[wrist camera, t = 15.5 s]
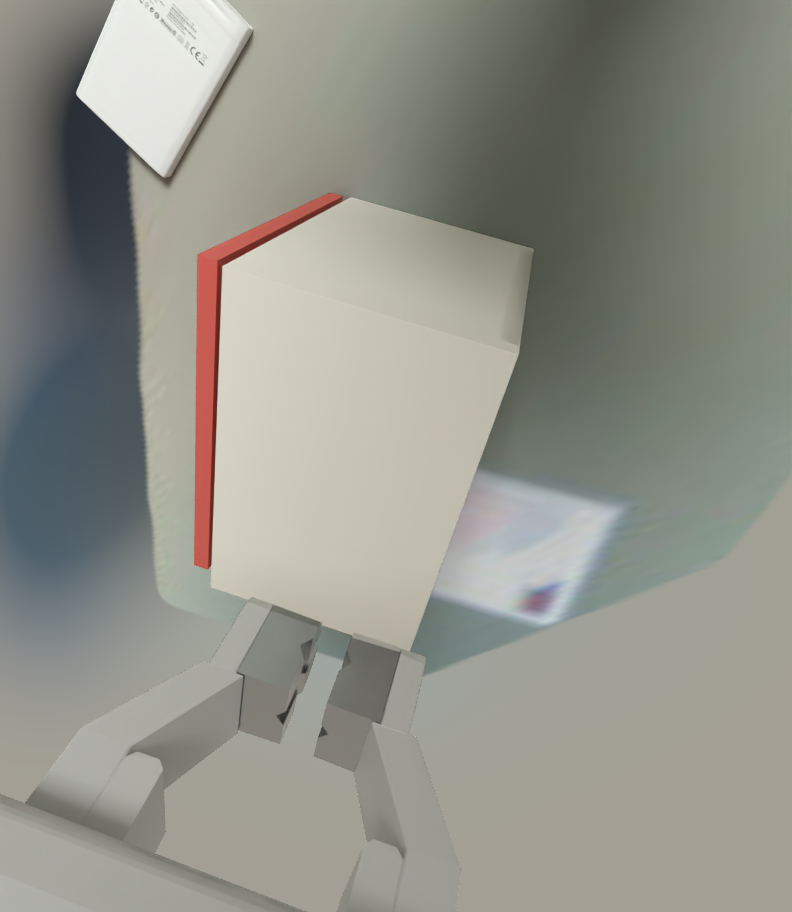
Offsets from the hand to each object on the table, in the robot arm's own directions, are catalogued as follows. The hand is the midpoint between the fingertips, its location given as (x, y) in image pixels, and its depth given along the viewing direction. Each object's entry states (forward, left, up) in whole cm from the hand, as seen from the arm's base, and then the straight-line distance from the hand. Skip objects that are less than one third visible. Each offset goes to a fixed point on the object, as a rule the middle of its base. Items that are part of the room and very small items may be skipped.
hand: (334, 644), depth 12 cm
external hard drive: (-10, -25, -38) cm, 46 cm away
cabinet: (+10, -6, -37) cm, 39 cm away
